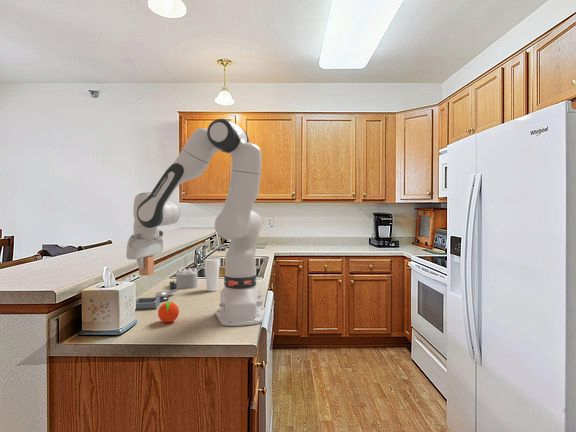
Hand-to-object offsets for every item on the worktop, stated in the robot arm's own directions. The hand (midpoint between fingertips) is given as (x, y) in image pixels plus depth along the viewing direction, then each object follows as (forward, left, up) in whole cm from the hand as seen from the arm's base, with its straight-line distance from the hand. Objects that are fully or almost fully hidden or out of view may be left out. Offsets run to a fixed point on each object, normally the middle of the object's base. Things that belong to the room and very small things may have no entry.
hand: (145, 267), depth 139 cm
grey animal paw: (+36, -12, -16) cm, 41 cm away
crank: (+13, -6, -14) cm, 20 cm away
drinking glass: (+23, -25, -16) cm, 38 cm away
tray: (0, 0, -16) cm, 16 cm away
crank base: (+9, -4, -16) cm, 19 cm away
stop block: (0, 0, -3) cm, 3 cm away
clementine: (-22, -12, -16) cm, 30 cm away
